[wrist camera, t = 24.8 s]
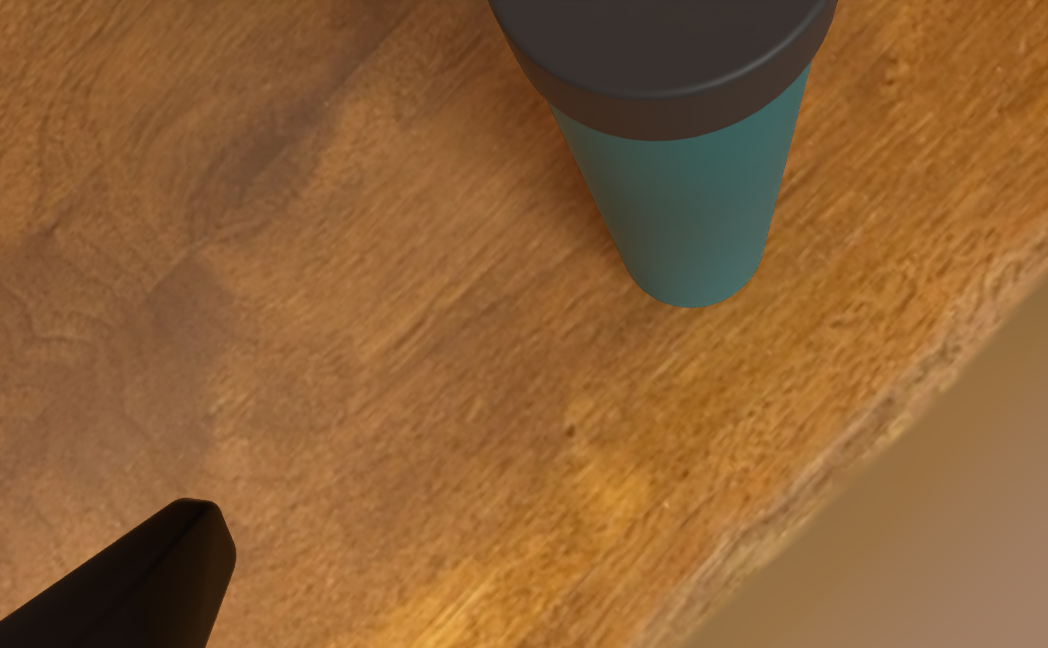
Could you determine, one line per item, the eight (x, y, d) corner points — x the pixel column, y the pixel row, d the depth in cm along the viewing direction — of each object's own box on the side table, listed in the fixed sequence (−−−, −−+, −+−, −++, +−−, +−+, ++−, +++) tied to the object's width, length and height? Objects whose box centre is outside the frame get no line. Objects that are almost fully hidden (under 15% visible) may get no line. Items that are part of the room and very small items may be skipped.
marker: (797, 255, 20) (948, -90, 7) (684, 349, 21) (633, 176, 8) (701, 152, 21) (681, -324, 8) (593, 243, 21) (406, -78, 8)
